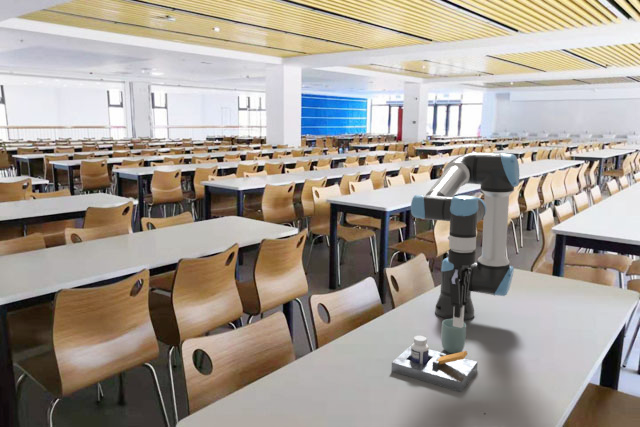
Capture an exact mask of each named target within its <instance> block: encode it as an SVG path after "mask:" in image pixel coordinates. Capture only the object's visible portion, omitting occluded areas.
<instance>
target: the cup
mask: <svg viewBox="0 0 640 427" xmlns="http://www.w3.org/2000/svg"><path fill="white" fill-rule="evenodd" d="M440 332H441V333H440V334H441V345H442V348H443V351H445V352H446V353H447V354H455V353H459V352H463V351H464V348H465V344H466V338H467V323H466V322H464V323H463V327H462V328H459V327H454V326H453V319H446V318H445V319H444V320H442V322H441V330H440Z"/></svg>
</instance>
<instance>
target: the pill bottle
mask: <svg viewBox="0 0 640 427" xmlns="http://www.w3.org/2000/svg"><path fill="white" fill-rule="evenodd" d="M427 342H428V339H427V337H426V336H423V335H415V336H413V343H412V344H411V345H410V346H411V361H414V362H417V363H421V364H424V365H426V364H427V363H428V353H429V349H430V348H429V347H430V346H429V345H428V344H427Z"/></svg>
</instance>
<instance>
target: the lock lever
mask: <svg viewBox="0 0 640 427" xmlns="http://www.w3.org/2000/svg"><path fill="white" fill-rule="evenodd" d="M467 355H468V351H467V350H462V351H461V352H459V353H455V354H451V353H449V355H446V356H439V357H438V358H437V359H436V360H435V361H439V364H443V363H448V362H452V361H457V360H461V359H464V358H465V359H466V357H467Z"/></svg>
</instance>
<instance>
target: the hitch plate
mask: <svg viewBox="0 0 640 427" xmlns="http://www.w3.org/2000/svg"><path fill="white" fill-rule="evenodd" d="M446 355H450V353H447V352H446V353H445V352H441V351H437V350H434V349H430V348H429V353H428V363H427V364H426V365H424V364H421V363H417V362H414V361H411V345H410V346H409V347H407V348H406V349H405V350H404V351H403V352H402V353H401V354H400V355H398V356H397V357H396V358H394V360H393V361H392V362H391V372H392V373H396V374H400V375H403V376H406V377H409V378H412V379H416V380H420V381H423V382H426V383H430V384H434V385H436V386H440V387H442V388H446V389H450V390H452V391H457V392H460V393H462V391H463V390H464V389H465V387H466V386H467V385H468V384H469V382H470V381H471V380H472V378H473V377H474V375H475V374H476V373H477V372H478V361H475V360H471V359H468V358H466V357H465V358H464V359H461V360H457V361H452V362H448V363H443V364H439V361H435V360H436V359H437V358H438V357H439V356H446Z"/></svg>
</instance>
